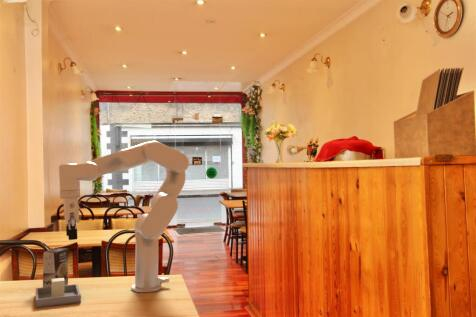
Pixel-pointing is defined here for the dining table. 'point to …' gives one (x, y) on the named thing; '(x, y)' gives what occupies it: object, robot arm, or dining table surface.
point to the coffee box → (55, 265)
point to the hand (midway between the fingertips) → (71, 237)
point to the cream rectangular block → (58, 287)
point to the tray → (46, 300)
